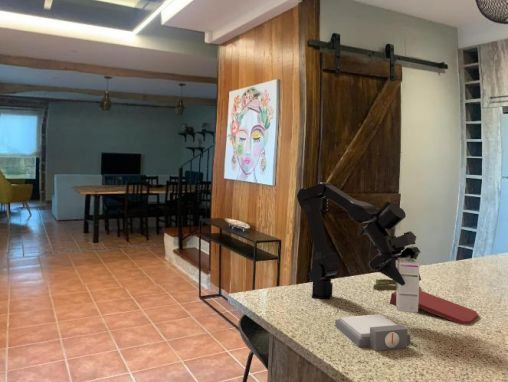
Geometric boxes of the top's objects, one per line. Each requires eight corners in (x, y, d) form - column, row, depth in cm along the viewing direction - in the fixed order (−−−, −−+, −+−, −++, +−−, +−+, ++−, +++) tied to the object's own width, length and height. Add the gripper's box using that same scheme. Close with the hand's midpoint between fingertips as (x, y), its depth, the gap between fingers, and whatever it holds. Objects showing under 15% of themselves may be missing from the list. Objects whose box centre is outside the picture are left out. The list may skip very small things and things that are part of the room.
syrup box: (418, 313, 121) (421, 263, 120) (396, 311, 122) (399, 261, 121) (415, 306, 127) (418, 258, 125) (395, 304, 128) (397, 257, 127)
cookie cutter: (368, 289, 161) (368, 284, 161) (378, 282, 171) (378, 277, 171) (417, 298, 151) (417, 293, 151) (425, 290, 161) (425, 285, 161)
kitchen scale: (335, 326, 123) (335, 309, 123) (381, 322, 127) (382, 306, 127) (365, 353, 106) (366, 333, 106) (417, 347, 110) (418, 328, 110)
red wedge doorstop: (476, 327, 135) (402, 297, 152) (480, 312, 134) (404, 284, 151) (464, 338, 126) (386, 305, 143) (468, 322, 126) (389, 291, 142)
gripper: (379, 225, 120) (412, 272, 112) (416, 220, 131) (448, 263, 123) (355, 247, 127) (385, 293, 119) (392, 241, 138) (422, 283, 130)
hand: (412, 282), depth 123 cm, fingers closed on syrup box, 8 cm apart
